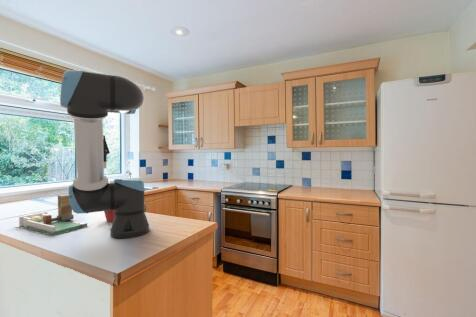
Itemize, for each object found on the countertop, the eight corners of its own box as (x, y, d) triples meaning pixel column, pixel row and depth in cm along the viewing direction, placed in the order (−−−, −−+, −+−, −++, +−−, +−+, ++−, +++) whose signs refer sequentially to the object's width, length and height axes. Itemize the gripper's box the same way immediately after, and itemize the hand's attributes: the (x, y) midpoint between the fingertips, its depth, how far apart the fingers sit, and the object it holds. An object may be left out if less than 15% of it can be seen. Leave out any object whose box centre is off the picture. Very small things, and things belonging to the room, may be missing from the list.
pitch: (81, 228, 108) (81, 218, 108) (53, 235, 98) (53, 224, 98) (46, 220, 122) (46, 211, 122) (19, 226, 112) (18, 216, 112)
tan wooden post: (73, 218, 117) (73, 194, 117) (47, 224, 108) (47, 198, 108) (66, 217, 120) (66, 193, 120) (41, 223, 110) (40, 197, 110)
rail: (87, 226, 111) (87, 223, 111) (81, 227, 109) (81, 224, 109) (59, 220, 122) (59, 217, 122) (53, 221, 119) (53, 218, 119)
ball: (39, 223, 117) (43, 222, 116) (29, 226, 114) (33, 224, 112) (38, 215, 118) (42, 214, 116) (28, 217, 114) (32, 216, 112)
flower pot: (117, 223, 115) (116, 203, 115) (97, 222, 117) (97, 203, 117) (131, 217, 125) (131, 199, 125) (113, 216, 127) (112, 199, 127)
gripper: (116, 125, 117) (117, 168, 118) (86, 128, 129) (87, 167, 129) (102, 123, 111) (103, 169, 111) (71, 126, 122) (72, 168, 122)
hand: (94, 168), depth 120 cm, fingers open, 13 cm apart
